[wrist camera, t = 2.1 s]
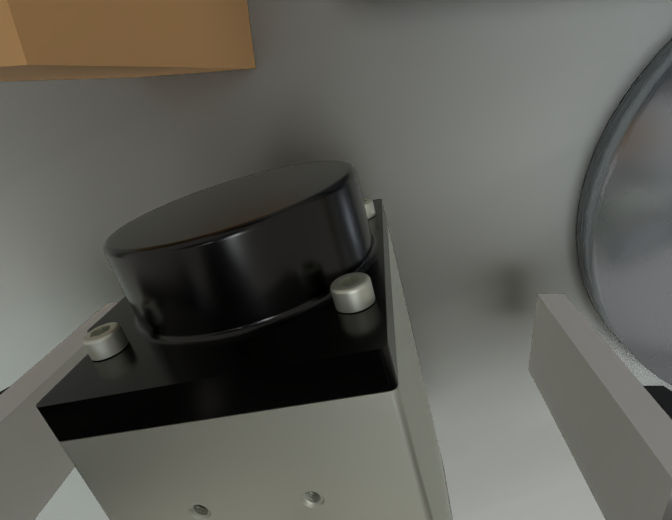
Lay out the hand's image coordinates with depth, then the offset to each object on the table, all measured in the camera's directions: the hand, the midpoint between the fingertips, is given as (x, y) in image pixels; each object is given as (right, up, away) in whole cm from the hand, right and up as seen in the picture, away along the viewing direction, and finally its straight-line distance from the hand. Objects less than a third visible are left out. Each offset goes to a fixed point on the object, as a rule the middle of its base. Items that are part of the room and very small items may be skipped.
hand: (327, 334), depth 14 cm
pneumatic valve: (0, +1, +3) cm, 3 cm away
